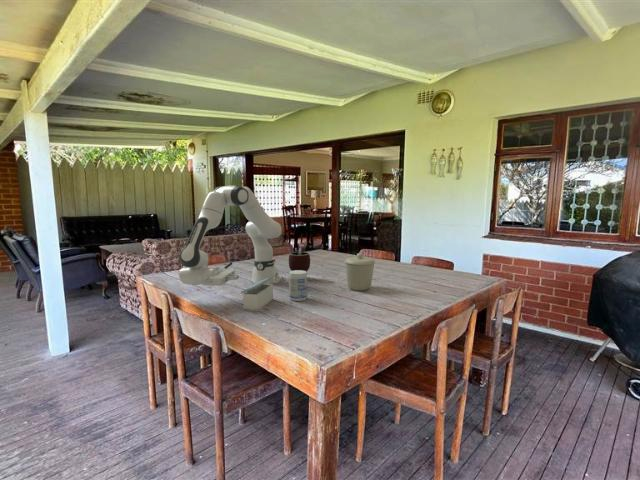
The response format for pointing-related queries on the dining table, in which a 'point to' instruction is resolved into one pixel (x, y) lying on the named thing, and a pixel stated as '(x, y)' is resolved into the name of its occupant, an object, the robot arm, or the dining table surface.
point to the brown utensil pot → (299, 261)
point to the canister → (359, 272)
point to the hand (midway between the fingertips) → (238, 277)
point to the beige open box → (258, 297)
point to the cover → (256, 285)
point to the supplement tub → (297, 285)
